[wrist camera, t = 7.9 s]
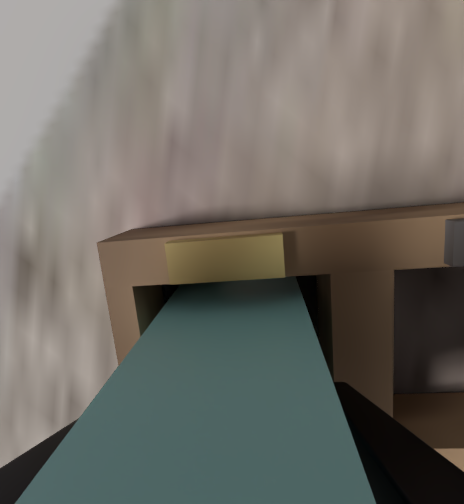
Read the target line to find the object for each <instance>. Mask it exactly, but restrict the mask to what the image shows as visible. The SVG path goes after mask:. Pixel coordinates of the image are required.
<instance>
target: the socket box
mask: <svg viewBox="0 0 464 504" xmlns="http://www.w3.org/2000/svg"><path fill="white" fill-rule="evenodd" d="M97 247H98V252H99V258H100V264H101V269H102V275H103V281H104V286H105V292H106V297H107V303H108V309H109V314H110V320H111V326H112V331H113V337H114V343H115V348H116V354H117V359H118V365H120V363H121V362H122V361H123V360H124V358H125V357H126V356H127V354H128V353H129V352H130V350H131V349H132V348H133V346H134V345H135V344H136V342H137V341H138V340H139V338H140V337H141V336H142V334H143V333H144V332H145V330H146V329H147V328H148V326H149V325H150V324H151V322H152V321H153V320H154V318H155V317H156V316H157V314H158V313H159V312H160V310H161V309H162V308H163V307H164V305H165V303H164V296H163V289H162V285H163V284H170V285H175V284H191V283H207V282H223V281H238V280H254V279H270V278H285V277H290V276H306V275H316V281H317V305H318V330H319V344H320V347H321V350H322V352H323V355H324V358H325V361H326V364H327V367H328V369H329V372H330V375H331V378H332V381H333V382H346V383H348V384H349V385H350V386H352V387H353V388H354V389H356V390H357V391H358V392H360V393H361V394H362V395H364V396H365V397H366V398H367V399H369V400H370V401H371V402H373V403H374V404H375V405H377V406H378V407H379V408H381V409H382V410H383V411H385V412H386V413H387V414H389V415H390V416H391V417H392V418H394V419H395V420H396V421H398V422H399V423H400V424H402V425H403V426H404V427H406V428H407V429H408V430H410V431H411V432H412V433H413V434H415V435H416V436H417V437H419V438H420V439H421V440H423V441H424V442H425V443H427V444H428V445H429V446H431V447H432V448H433V449H435V450H436V451H437V452H438V453H440V454H441V455H442V456H444V457H445V458H446V459H448V460H449V461H450V462H452V463H453V464H454V465H456V466H457V467H458V468H460V469H461V470H462V471H463V472H464V392H457V393H420V394H393V347H394V270H401V269H417V268H433V267H449V266H451V267H462V266H464V202H463V203H450V204H438V205H426V206H413V207H401V208H389V209H376V210H364V211H352V212H339V213H327V214H315V215H302V216H290V217H278V218H265V219H253V220H241V221H228V222H216V223H204V224H191V225H179V226H167V227H154V228H142V229H131V230H128V231H126V232H123V233H121V234H118V235H116V236H113V237H110V238H108V239H105V240H103V241H100V242H98V243H97Z"/></svg>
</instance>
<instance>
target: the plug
mask: <svg viewBox="0 0 464 504" xmlns="http://www.w3.org/2000/svg"><path fill="white" fill-rule="evenodd" d="M15 504H376V502H375V499H374V496H373V493H372V490H371V488H370V485H369V482H368V479H367V476H366V474H365V471H364V468H363V465H362V462H361V459H360V457H359V454H358V451H357V448H356V445H355V443H354V440H353V437H352V434H351V431H350V428H349V426H348V423H347V420H346V417H345V414H344V412H343V409H342V406H341V403H340V400H339V398H338V395H337V392H336V389H335V386H334V383H333V381H332V378H331V375H330V372H329V369H328V367H327V364H326V361H325V358H324V355H323V352H322V350H321V347H320V344H319V341H318V338H317V336H316V333H315V330H314V327H313V324H312V321H311V319H310V316H309V313H308V310H307V307H306V305H305V302H304V299H303V296H302V293H301V291H300V288H299V285H298V282H297V279H296V276H290V277H285V278H270V279H254V280H238V281H223V282H207V283H191V284H180V285H179V287H178V288H177V289H176V291H175V292H174V293H173V295H172V296H171V297H170V299H169V300H168V301H167V303H166V304H165V305H164V307H163V308H162V309H161V310H160V312H159V313H158V314H157V316H156V317H155V318H154V320H153V321H152V322H151V324H150V325H149V326H148V328H147V329H146V330H145V332H144V333H143V334H142V336H141V337H140V338H139V340H138V341H137V342H136V344H135V345H134V346H133V348H132V349H131V350H130V352H129V353H128V354H127V356H126V357H125V358H124V360H123V361H122V362H121V363H120V365H119V366H118V367H117V369H116V370H115V371H114V373H113V374H112V375H111V377H110V378H109V379H108V381H107V382H106V383H105V385H104V386H103V387H102V389H101V390H100V391H99V393H98V394H97V395H96V397H95V398H94V399H93V401H92V402H91V403H90V405H89V406H88V407H87V409H86V410H85V411H84V413H83V414H82V415H81V417H80V418H79V419H78V420H77V422H76V423H75V424H74V426H73V427H72V428H71V430H70V431H69V432H68V434H67V435H66V436H65V438H64V439H63V440H62V442H61V443H60V444H59V446H58V447H57V448H56V450H55V451H54V452H53V454H52V455H51V456H50V458H49V459H48V460H47V462H46V463H45V464H44V466H43V467H42V468H41V470H40V471H39V472H38V474H37V475H36V476H35V477H34V479H33V480H32V481H31V483H30V484H29V485H28V487H27V488H26V489H25V491H24V492H23V493H22V495H21V496H20V497H19V499H18V500H17V501H16V503H15Z"/></svg>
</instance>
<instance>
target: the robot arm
mask: <svg viewBox="0 0 464 504" xmlns="http://www.w3.org/2000/svg"><path fill="white" fill-rule="evenodd" d="M333 383H334V386H335V389H336V392H337V395H338V398H339V400H340V403H341V406H342V409H343V412H344V414H345V417H346V420H347V423H348V426H349V428H350V431H351V434H352V437H353V440H354V443H355V445H356V448H357V451H358V454H359V457H360V459H361V462H362V465H363V468H364V471H365V474H366V476H367V479H368V482H369V485H370V488H371V490H372V493H373V496H374V499H375V502H376V504H464V472H463V471H462V470H461V469H460V468H458V467H457V466H456V465H454V464H453V463H452V462H450V461H449V460H448V459H446V458H445V457H444V456H442V455H441V454H440V453H438V452H437V451H436V450H435V449H433V448H432V447H431V446H429V445H428V444H427V443H425V442H424V441H423V440H421V439H420V438H419V437H417V436H416V435H415V434H413V433H412V432H411V431H410V430H408V429H407V428H406V427H404V426H403V425H402V424H400V423H399V422H398V421H396V420H395V419H394V418H392V417H391V416H390V415H389V414H387V413H386V412H385V411H383V410H382V409H381V408H379V407H378V406H377V405H375V404H374V403H373V402H371V401H370V400H369V399H367V398H366V397H365V396H364V395H362V394H361V393H360V392H358V391H357V390H356V389H354V388H353V387H352V386H350V385H349V384H348V383H346V382H333ZM78 419H79V418H78ZM78 419H77V420H78ZM77 420H75V421H74V422H72V423H71V424H69V425H67V426H66V427H64V428H63V429H61V430H60V431H58V432H57V433H55V434H53V435H52V436H50V437H49V438H47V439H46V440H44V441H42V442H41V443H39V444H38V445H36V446H35V447H33V448H31V449H30V450H28V451H27V452H25V453H24V454H22V455H20V456H19V457H17V458H16V459H14V460H13V461H11V462H9V463H8V464H6V465H5V466H3V467H2V468H0V504H15V503H16V501H17V500H18V499H19V497H20V496H21V495H22V493H23V492H24V491H25V489H26V488H27V487H28V485H29V484H30V483H31V481H32V480H33V479H34V477H35V476H36V475H37V474H38V472H39V471H40V470H41V468H42V467H43V466H44V464H45V463H46V462H47V460H48V459H49V458H50V456H51V455H52V454H53V452H54V451H55V450H56V448H57V447H58V446H59V444H60V443H61V442H62V440H63V439H64V438H65V436H66V435H67V434H68V432H69V431H70V430H71V428H72V427H73V426H74V424H75V423H76V422H77Z"/></svg>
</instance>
